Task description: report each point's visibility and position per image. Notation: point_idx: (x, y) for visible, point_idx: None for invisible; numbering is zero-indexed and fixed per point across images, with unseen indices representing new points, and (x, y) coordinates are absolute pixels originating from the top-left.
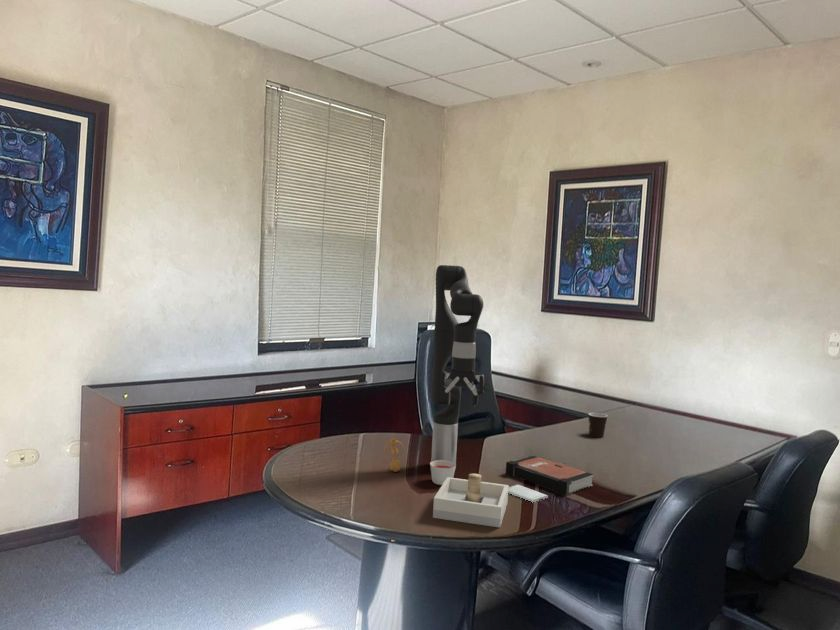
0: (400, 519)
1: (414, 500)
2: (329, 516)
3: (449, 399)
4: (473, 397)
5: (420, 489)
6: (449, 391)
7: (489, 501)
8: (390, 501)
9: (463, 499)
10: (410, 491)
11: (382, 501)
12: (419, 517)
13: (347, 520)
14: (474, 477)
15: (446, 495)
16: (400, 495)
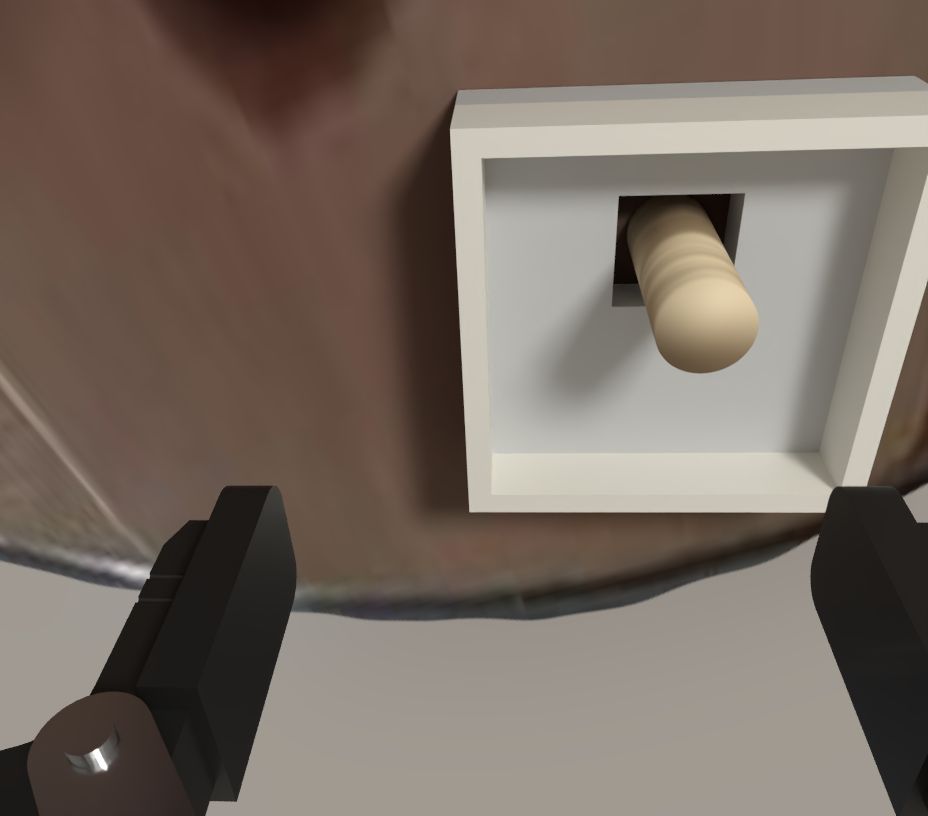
0: (338, 503)
1: (299, 265)
2: (55, 564)
3: (265, 603)
4: (890, 768)
5: (249, 51)
6: (190, 771)
7: (784, 254)
8: (185, 329)
9: (610, 283)
10: (206, 123)
11: (148, 345)
12: (411, 459)
13: (143, 573)
14: (703, 369)
15: (490, 259)
16: (186, 221)
